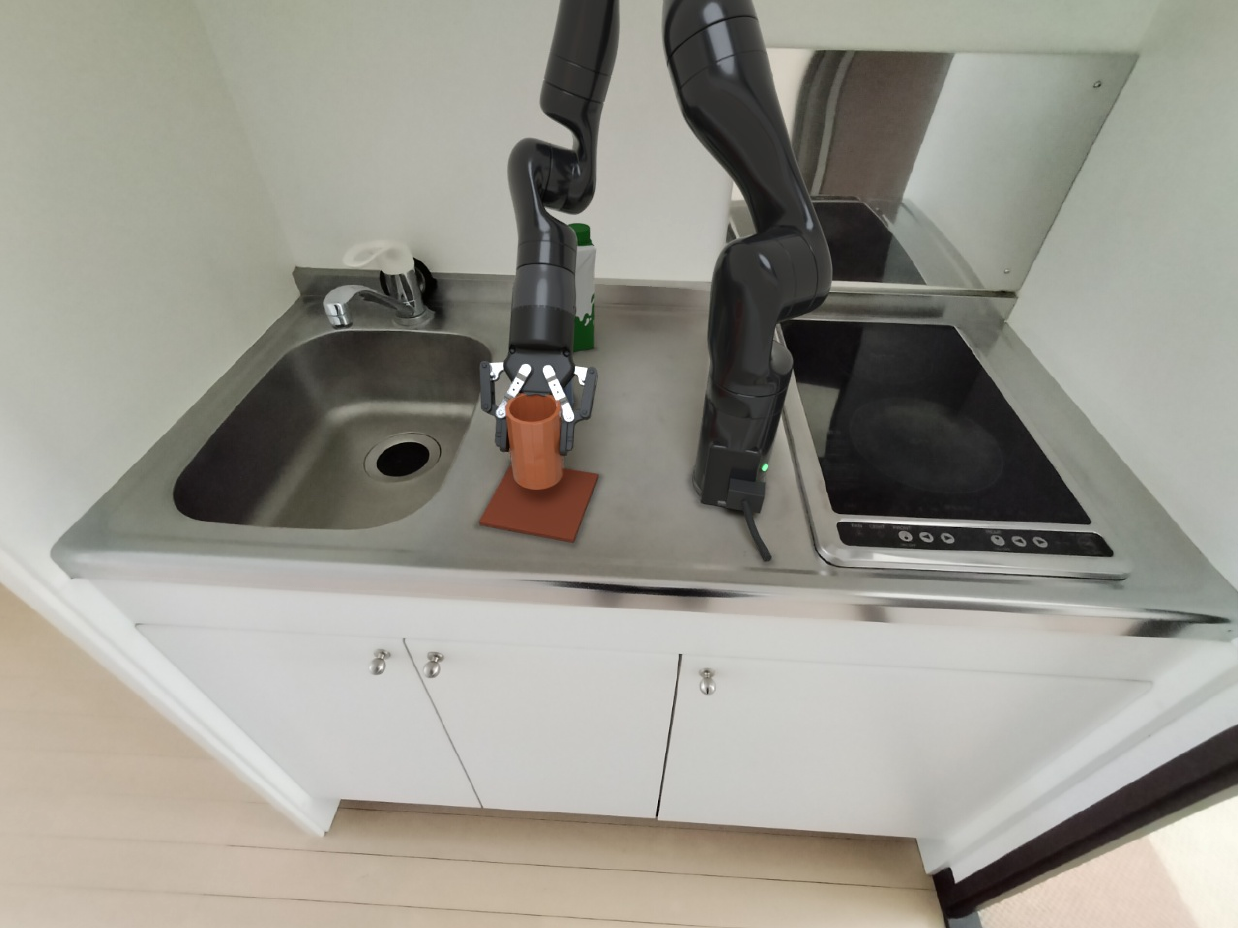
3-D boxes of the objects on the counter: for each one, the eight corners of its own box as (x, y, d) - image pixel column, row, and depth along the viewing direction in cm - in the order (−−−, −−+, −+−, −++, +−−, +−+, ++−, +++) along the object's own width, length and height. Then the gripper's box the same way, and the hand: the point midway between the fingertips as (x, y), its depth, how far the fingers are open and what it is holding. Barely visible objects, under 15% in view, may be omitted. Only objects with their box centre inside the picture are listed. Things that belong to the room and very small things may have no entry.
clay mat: (573, 542, 72) (573, 539, 71) (479, 524, 73) (478, 521, 73) (598, 477, 80) (598, 473, 80) (513, 462, 82) (513, 458, 82)
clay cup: (573, 467, 75) (571, 402, 68) (543, 497, 71) (538, 431, 64) (533, 449, 77) (527, 385, 70) (502, 477, 73) (493, 412, 66)
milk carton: (600, 350, 105) (601, 236, 92) (550, 358, 102) (543, 242, 89) (584, 326, 111) (583, 216, 98) (537, 334, 108) (529, 222, 95)
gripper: (474, 299, 67) (463, 447, 66) (602, 305, 67) (593, 455, 66) (490, 319, 75) (480, 452, 74) (605, 325, 74) (597, 459, 73)
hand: (534, 453), depth 70 cm, fingers closed on clay cup, 6 cm apart
